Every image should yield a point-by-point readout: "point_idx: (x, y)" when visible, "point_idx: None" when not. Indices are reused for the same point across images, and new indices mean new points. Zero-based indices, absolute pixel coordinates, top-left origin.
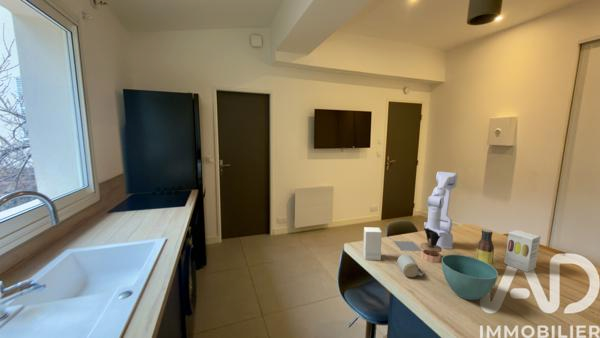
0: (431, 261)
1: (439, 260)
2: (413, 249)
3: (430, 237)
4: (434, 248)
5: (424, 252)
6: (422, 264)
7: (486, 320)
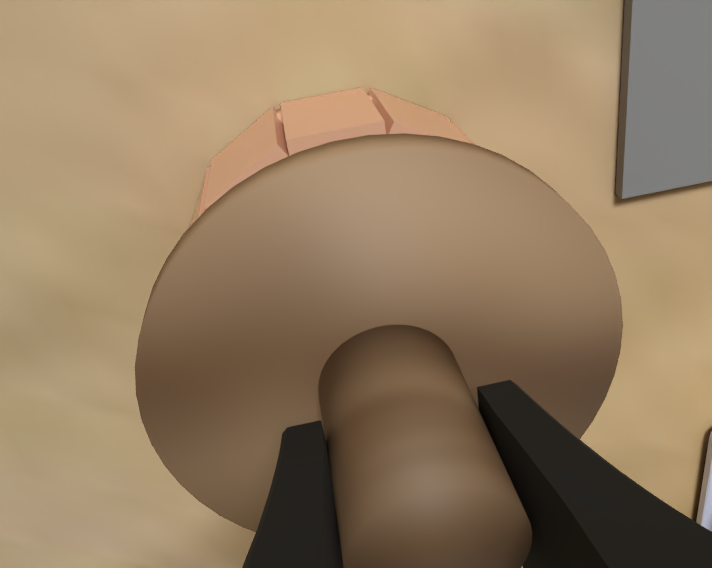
0: None
1: None
2: (684, 27)
3: (551, 555)
4: None
5: None
6: (49, 25)
7: None
